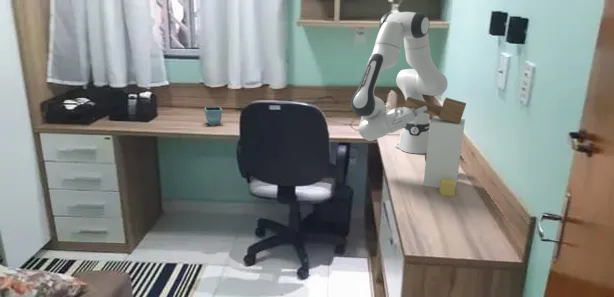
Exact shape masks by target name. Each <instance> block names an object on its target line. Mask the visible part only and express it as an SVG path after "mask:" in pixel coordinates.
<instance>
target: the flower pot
mask: <svg viewBox="0 0 614 297" xmlns="http://www.w3.org/2000/svg"><path fill="white" fill-rule="evenodd" d="M222 112H223V109H222V107H221V106H211V107H210V106H209V107H208V106H206V107H204V114H205V118H206V121H207V123H208V124H209V126H218V125H220V123H221V120H222V114H223V113H222Z"/></svg>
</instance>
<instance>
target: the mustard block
mask: <svg viewBox="0 0 614 297" xmlns="http://www.w3.org/2000/svg"><path fill="white" fill-rule="evenodd" d="M456 186H457V183H455V181H454V179H440V187H439V188H438V191H439V193H440V194H439V195H440V196H445V197H447V196H448V197H449V196H450V197H455V195H456Z"/></svg>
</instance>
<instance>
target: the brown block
mask: <svg viewBox="0 0 614 297" xmlns="http://www.w3.org/2000/svg"><path fill="white" fill-rule="evenodd" d="M425 101H426V100H425ZM425 101H421V100H418V99H414V98H411V97H408V98H407V99H406V100H405V103H404V106H403V107H407V108H410V109H412V108H415V109H418V108H420V107H422V106H425V105H427V107H428V109H427V110H426V111H423V112H424V113H427V114H430V115H431V116H433V117H434V116H437V117H439V118H440V119H444V120H447V121H451V122H454V123H457V124H460V121H461V119H463V116H464V115H463V114H464V111H465V109H466V105H467V102H463V101H460V100H456V99H453V98H450V97H445V99H444V100H443V103H442V106H441V105H438V104H435V103H431V102H428V101H426V102H425Z"/></svg>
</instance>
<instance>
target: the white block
mask: <svg viewBox="0 0 614 297" xmlns="http://www.w3.org/2000/svg"><path fill="white" fill-rule="evenodd" d="M429 123H430V127H429V137H428V147H427V156H426V162H425V165H424V166H425V168H424V177H423V187H428V188H435V189H439V187H440V179H454V181H455V183H456V184H457V183H458V178H459V176H458V175H459V169H460V163H461V162H460V161H461V153H462V146H463V145H462V144H463V139H464V131H465V125H466V124H465V123H466V119H464V118H461V121H460V124H457V123H454V122H451V121H447V120H444V119H440V118H439V117H437V116H434V115H433V116H432V119H431V120H430V121H429Z"/></svg>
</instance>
